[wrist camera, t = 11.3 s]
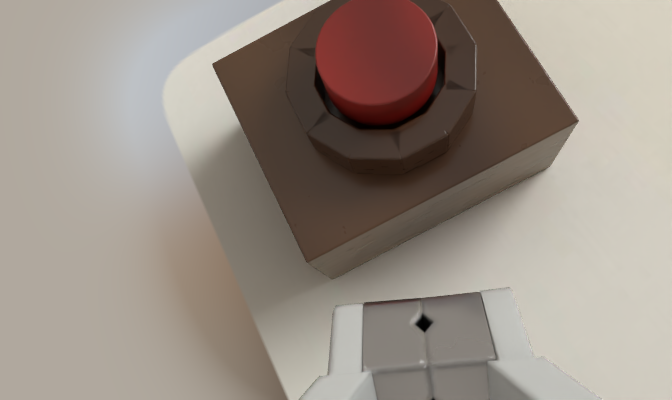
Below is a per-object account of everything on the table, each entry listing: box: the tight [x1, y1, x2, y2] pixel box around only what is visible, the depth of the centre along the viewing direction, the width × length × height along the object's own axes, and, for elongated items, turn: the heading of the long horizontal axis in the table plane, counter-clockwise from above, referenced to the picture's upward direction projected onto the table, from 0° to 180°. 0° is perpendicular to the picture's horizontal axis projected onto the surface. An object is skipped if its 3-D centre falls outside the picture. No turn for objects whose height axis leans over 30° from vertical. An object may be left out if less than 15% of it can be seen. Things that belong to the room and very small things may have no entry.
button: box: [315, 0, 438, 126], centre depth 22 cm, size 4×4×2 cm
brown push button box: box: [212, 0, 579, 279], centre depth 27 cm, size 12×10×8 cm
